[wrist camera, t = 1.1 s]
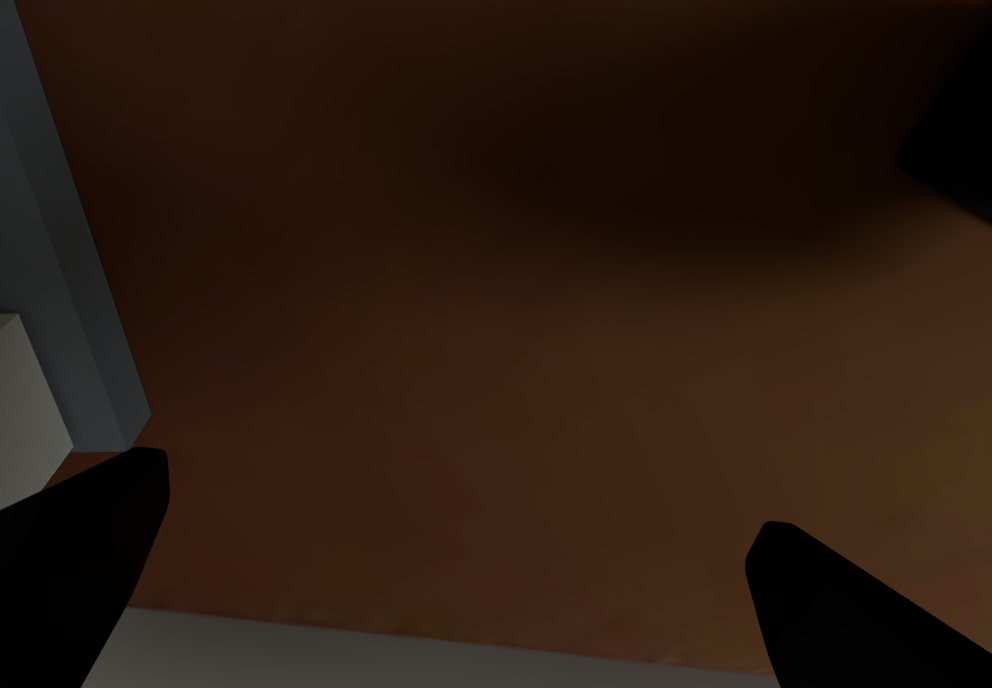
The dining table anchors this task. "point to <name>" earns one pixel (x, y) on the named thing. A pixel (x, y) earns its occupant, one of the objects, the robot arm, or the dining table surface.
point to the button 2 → (26, 418)
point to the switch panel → (58, 265)
